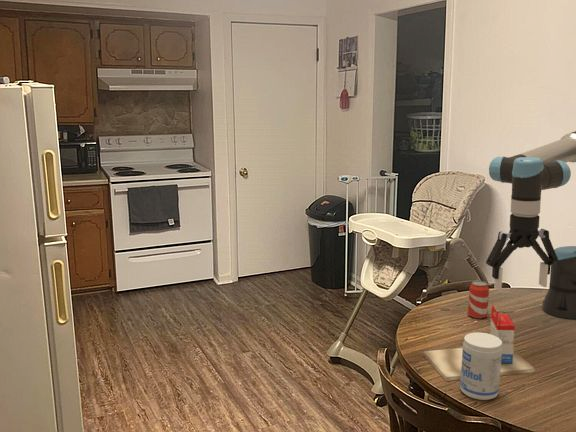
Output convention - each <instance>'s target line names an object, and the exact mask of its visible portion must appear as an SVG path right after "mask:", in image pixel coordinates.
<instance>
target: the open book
mask: <svg viewBox="0 0 576 432" xmlns="http://www.w3.org/2000/svg"><path fill="white" fill-rule="evenodd" d="M462 352H463V347H458V348H445V349H437V350H426V351H423V354H422V356H423V357H424V358H425V359H426V360H427V362H429V364H430V365H431V366H432V368H434V369H435V370H436V372H437V373H439V375H440V376H441V377H442V378H443V379H444V380H445V381H446V382H450V381H459V380H460V381H461V366H462ZM535 372H536V368H535V367H534V366H533V365H531V363H529V362H528V361H527V360H525V359H524V358H523V357H522V356H521V355H520V354H518V353H516V351H514V350H513V363H512V364H504V363H501V369H500V377H501V376H511V375H520V374H521V375H523V374H530V373H535Z"/></svg>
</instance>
